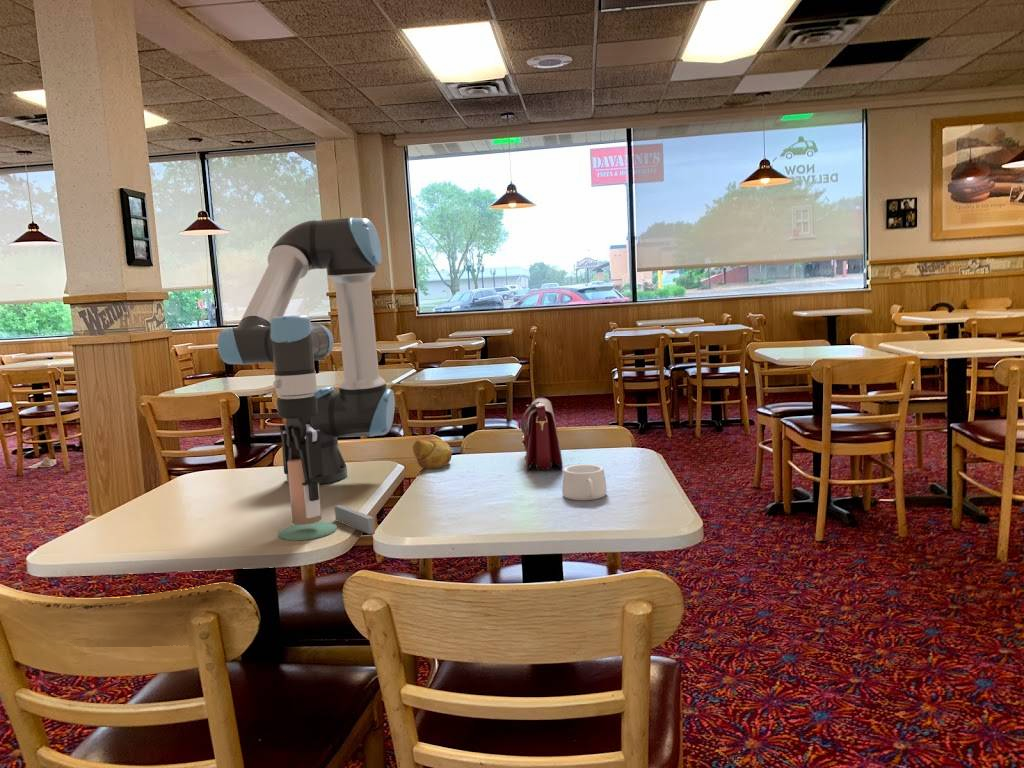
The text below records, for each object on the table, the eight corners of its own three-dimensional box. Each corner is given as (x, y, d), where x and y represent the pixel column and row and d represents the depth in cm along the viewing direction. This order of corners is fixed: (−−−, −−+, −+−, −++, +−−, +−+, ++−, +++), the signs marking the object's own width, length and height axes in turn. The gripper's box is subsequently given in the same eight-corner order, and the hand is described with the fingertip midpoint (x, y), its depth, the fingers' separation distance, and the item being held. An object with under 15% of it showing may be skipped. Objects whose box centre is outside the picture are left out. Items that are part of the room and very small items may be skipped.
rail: (335, 520, 155) (334, 505, 155) (340, 518, 156) (339, 504, 156) (369, 534, 145) (368, 518, 144) (374, 532, 145) (373, 517, 145)
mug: (558, 492, 169) (557, 465, 168) (600, 488, 170) (599, 462, 169) (569, 506, 157) (568, 477, 156) (615, 502, 158) (614, 474, 158)
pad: (270, 532, 149) (269, 530, 149) (321, 519, 156) (321, 518, 156) (293, 544, 141) (293, 542, 141) (346, 530, 148) (346, 528, 148)
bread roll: (423, 460, 210) (422, 432, 209) (458, 459, 209) (456, 431, 208) (412, 471, 198) (410, 441, 197) (448, 470, 196) (446, 440, 196)
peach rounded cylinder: (287, 520, 148) (282, 460, 147) (314, 514, 152) (309, 456, 151) (299, 526, 144) (294, 464, 143) (326, 519, 148) (321, 459, 146)
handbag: (523, 452, 214) (519, 391, 212) (560, 450, 214) (557, 389, 212) (520, 475, 187) (517, 405, 185) (563, 473, 186) (560, 403, 184)
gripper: (259, 395, 150) (269, 509, 153) (298, 401, 136) (309, 527, 138) (295, 390, 155) (304, 501, 157) (336, 396, 141) (346, 518, 143)
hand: (306, 513), depth 148 cm, fingers closed on peach rounded cylinder, 5 cm apart
